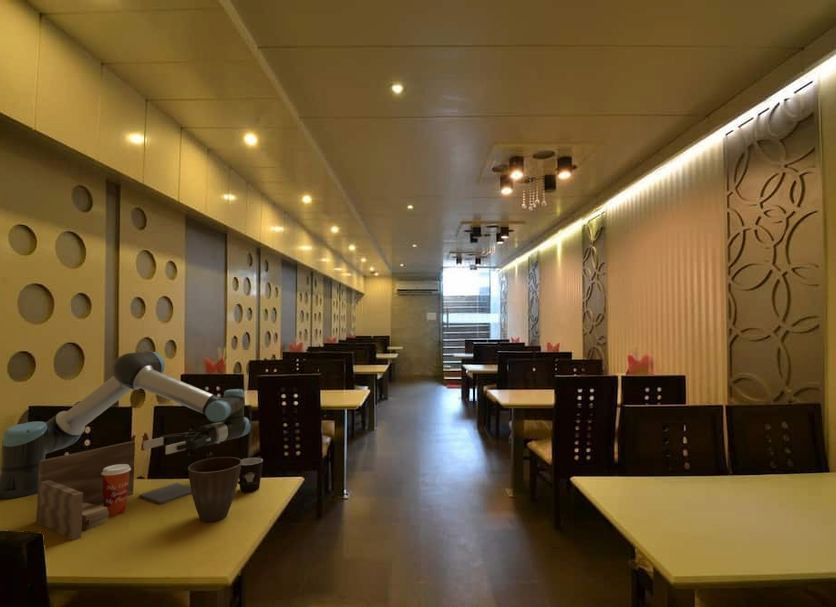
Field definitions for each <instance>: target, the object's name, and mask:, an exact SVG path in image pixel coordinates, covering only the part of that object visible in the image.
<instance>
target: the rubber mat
mask: <svg viewBox="0 0 836 607" xmlns="http://www.w3.org/2000/svg"><path fill="white" fill-rule="evenodd" d="M190 495H192V491H191V487H190V485H185V484H181V483H179V482H176V483H173V484H169V485H166V486H163V487H160V488H156V489H153V490H150V491H147V492H145V493H140V494H139V495H138V497H139V498H141V497H142V498H141V499H143V498H145V499H144V500H146V499H147V501H149V500H150V501H149V502H152V501H153V503H155V504H158V505H163V504H166V503H169V502H173V501H175V500H177V499H180V498H184V497H185V496H186V497H187V496H190Z"/></svg>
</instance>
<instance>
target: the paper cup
mask: <svg viewBox="0 0 836 607" xmlns="http://www.w3.org/2000/svg"><path fill="white" fill-rule="evenodd" d="M130 470H131V468H130V466H129V465H128V464H117V465H112V466H108V467H106V468H104V469H103V472H102V473H101V474H102V475H103V503H102V506H103V507H108V511H109V517H114V516H113V515H115V516H118V515H121V514H123V513H125V512H124V511H126V508H127V500H128V496H127V492H128V482H129V472H130Z"/></svg>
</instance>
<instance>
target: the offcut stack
mask: <svg viewBox="0 0 836 607" xmlns="http://www.w3.org/2000/svg"><path fill="white" fill-rule="evenodd" d="M109 517H110V516H109V511H108V507H103V505H94V504H89V503H84V502H83V506H82V528H81V531H82V530H83V531H89V530H92V529H93V528H96V527H98V526H100V524H101V525H103V524H105V523H107V522H106V521H108V522H109ZM104 522H105V523H104ZM102 523H103V524H102Z"/></svg>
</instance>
